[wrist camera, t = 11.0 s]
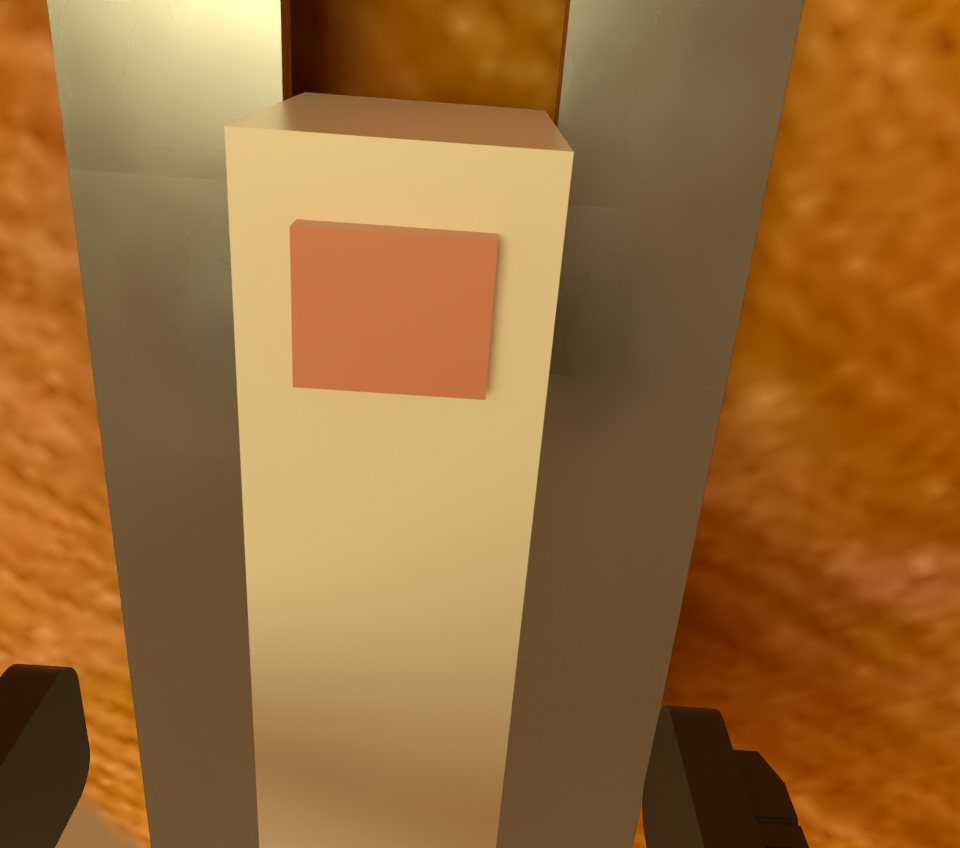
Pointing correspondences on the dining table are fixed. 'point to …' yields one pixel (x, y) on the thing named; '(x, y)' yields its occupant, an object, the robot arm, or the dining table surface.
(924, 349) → the dining table surface
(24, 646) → the dining table surface
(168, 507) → the slotted board
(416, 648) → the cream rectangular block
